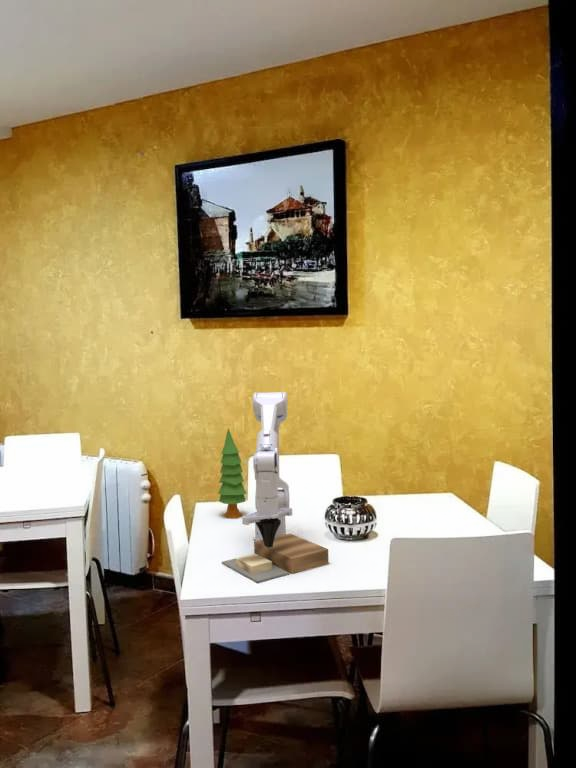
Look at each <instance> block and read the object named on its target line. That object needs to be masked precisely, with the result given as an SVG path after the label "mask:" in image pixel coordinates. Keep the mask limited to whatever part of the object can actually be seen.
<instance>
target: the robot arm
mask: <svg viewBox="0 0 576 768" xmlns="http://www.w3.org/2000/svg"><path fill="white" fill-rule="evenodd" d="M252 410H253V413H254V418H255V420H256V421H258V422H259V423H260V424H261V430H260V431H258V433H257V436H256V447H255V448H256V449H255V453H253V457H252V458H253V460H252V465H253V466H252V467H253V470H254V471H253V472H254V480H255V495H254V498H255V499H254V500H255V502H254V503H255V504H254V505H255V506H254V507H255V509H256V511H255V512H252V513H250V514H247V515H242V516H241V518H242V519H241V520H242V521H241V522H242V524H243V525H245V526H249V525H250V524H254V531H255V534H254V535H255V536H254V537H253V538H252V540H253V541H258V540H263V541H264V546H266V547H268V548H270V547H273V542H274V538H275V537H276V536H280V535H284V534H287V530H286V526H287V525H286V517H287V516H289V517H292V516H293V508H291V507H290V488H289V485H288V483H287V482H286V481H284V480H283V479H282V478H280V433H279V431H280V426H281V423H282V422H285V421H286V420H287V417H288V394H287V393H286V391H281V392H280V391H278V392H275V391H274V392H270V391H269V392H258V391H257V392H256V391H255V392H254V393H253V395H252Z"/></svg>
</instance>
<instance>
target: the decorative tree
mask: <svg viewBox="0 0 576 768" xmlns="http://www.w3.org/2000/svg"><path fill="white" fill-rule="evenodd" d="M224 441H225V442H224V445H223V446H222V447H223V448H222V450H221V455H222V457H221V460H220V464H222V465H221V468H220V471H219V472H220V474H221V476H220V479H219V482H218V483H219V484H221V486H220V488H219V491H218V493H217V495H220V496H219V500H218V502H219V503H220V504H221V503H222V504H224V505H227V507H226V512H225V514H224V517H225V518H226V519H238V518H239V517H242V516H243V515H242V513H241V512H240V510H239V509H238V504H241V503H245V502H246V496H245V495H247V491H246V489H245V487H244V485H243V482H244V481H245V480H244V477H243V476H242V475H243V474H242V473H243V468H242V465H241V464H242V460H241V457H240V451H239V449H238V447H237V445H236V444H235V441H234V439H233V435H232V434H231V431H230V429H229V428H227V430H226V436H225V440H224Z"/></svg>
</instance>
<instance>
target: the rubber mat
mask: <svg viewBox="0 0 576 768" xmlns="http://www.w3.org/2000/svg"><path fill="white" fill-rule="evenodd" d="M240 557H241V556H239V557H238V558H240ZM236 558H237V557H236ZM236 558H232V559H228V560H224V561H221V564H222V565H224V566H225V567H227V568H229V569H231V570H232V571H234V572H236V573H238V574H240V575H242V576H244V577H245V578H247V579H249V580H251V581H252V582H255V583H256V584H260V583H264V582H267V581H271V580H275V579H278V578H281V576H282V577H285V576H289V575H290V573H289V572H287V571H285V570H283V569H281V568H279V567H277V566H275V565H273V564H272V569H270V570H267V571H263V572H259V573H255V574H251V573H249V572H247V571H245V570H244V569H242V568H240V567H238V566H236ZM277 577H278V578H277ZM274 578H275V579H274ZM270 579H271V580H270ZM263 581H264V582H263Z"/></svg>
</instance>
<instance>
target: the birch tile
mask: <svg viewBox="0 0 576 768" xmlns="http://www.w3.org/2000/svg"><path fill="white" fill-rule="evenodd" d="M239 557H240V558H239ZM239 557H236V566H238V567H240V568H242V569H244V570H245V571H247V572H249V573H251V574H255V573H259V572H263V571H267V570H270V569H272V561H270V560H268V559H266V558H263V557H261V556H259V555H257V554H254V553H252V554H248V555H245V556H244V555H243V556H239Z"/></svg>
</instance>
